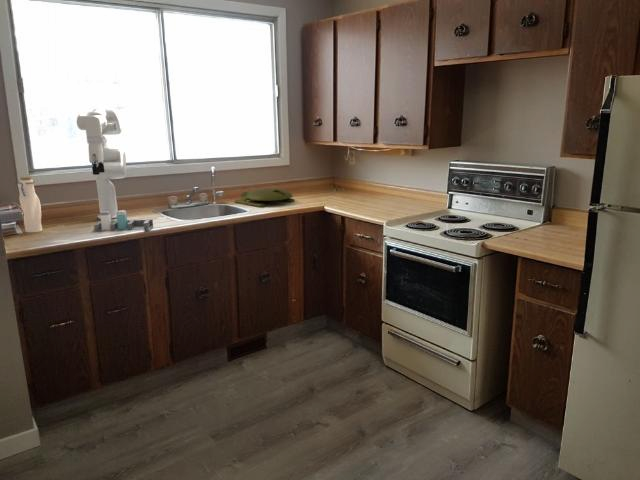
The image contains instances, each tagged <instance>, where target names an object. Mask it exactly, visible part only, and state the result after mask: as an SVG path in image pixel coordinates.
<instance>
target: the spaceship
mask: <svg viewBox="0 0 640 480" xmlns="http://www.w3.org/2000/svg"><path fill="white" fill-rule="evenodd" d="M240 196H241V198H240V199H238V198H237V199H235V200H234V203H235V204H240V205H244V206H245V205H246V206H250V207H254V208H265V207H266V204H265V203H262V202H261V203H260V202H256V201H263V202H264V201H281V202H287V203H294V202H295V201H296V200H295V199H294V198H293V193H292V192H290V191H289V190H286V189H282V188H274V187H272V188H271V187H269V188H268V187H267V188H260V189H255V190H249V191H243V193H241V195H240Z"/></svg>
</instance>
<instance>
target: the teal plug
mask: <svg viewBox="0 0 640 480" xmlns="http://www.w3.org/2000/svg"><path fill="white" fill-rule="evenodd" d="M127 214H128V213H127V209H126V210H125V209H122V210H121V209H120V210H118V211H117V212H116V215H117V218H116V221H117V224H118V229H127V223H128V222H127V220H128V216H127Z"/></svg>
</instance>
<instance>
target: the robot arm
mask: <svg viewBox="0 0 640 480" xmlns="http://www.w3.org/2000/svg"><path fill="white" fill-rule="evenodd" d="M76 125H77V128H78V129H79V130H81V131H85V135H86V143H87V144H88V157H89V158H88V159H89V160H88V161H89V163H91V168H92V175H94V178H95V182H96V189H97V197H98V204H99V205H98V207H99V213H100V212H102V211H110V214H111V219H117V215H116V212H117V211H119V210H118V203H117V194H116V193H117V192H116V187H115V185H114V183H113V182H112V181H111V180H118V179H119V180H121V179H124V178H126V176H127V158H126V152H125V150H124V149H123V148H121V147H112V142H111V141H110V140H109V138H107V137H106V136H105V135H107V136H108V135H109V136H110V135H113V136H114V135H115V136H116V135H119V134H121V133H122V122H121V118H120V115H119V112H118V111H117V109H115V108H112V107H111V108H110V107H108V108H107V107H106V108H105V107H104V108H102V107H101V108H99V107H98V108H95V109H93V110H92V111H89V112H83V113H80V114H78V115H77V117H76ZM97 218H98V219H100V220H101V218H100V214H98V215H97Z"/></svg>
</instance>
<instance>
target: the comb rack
mask: <svg viewBox="0 0 640 480" xmlns="http://www.w3.org/2000/svg"><path fill="white" fill-rule="evenodd" d="M127 222H128V223H127V229H118V224H117V220H111V223H112V224H111V229H110V230H102V226H101V220H97V221H96V223H95V224H94V225H93V229H94V230H92V231H91V233H101V232H102V233H103V232H104V233H106V232H124V231H129V232H130V231H143V232H144V233H146V232H147V233H148V232H150V231H151V230H152V229H153V228H154V220H153V218H149V219H147V218H145V219H144V218H143V219H127Z"/></svg>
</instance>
